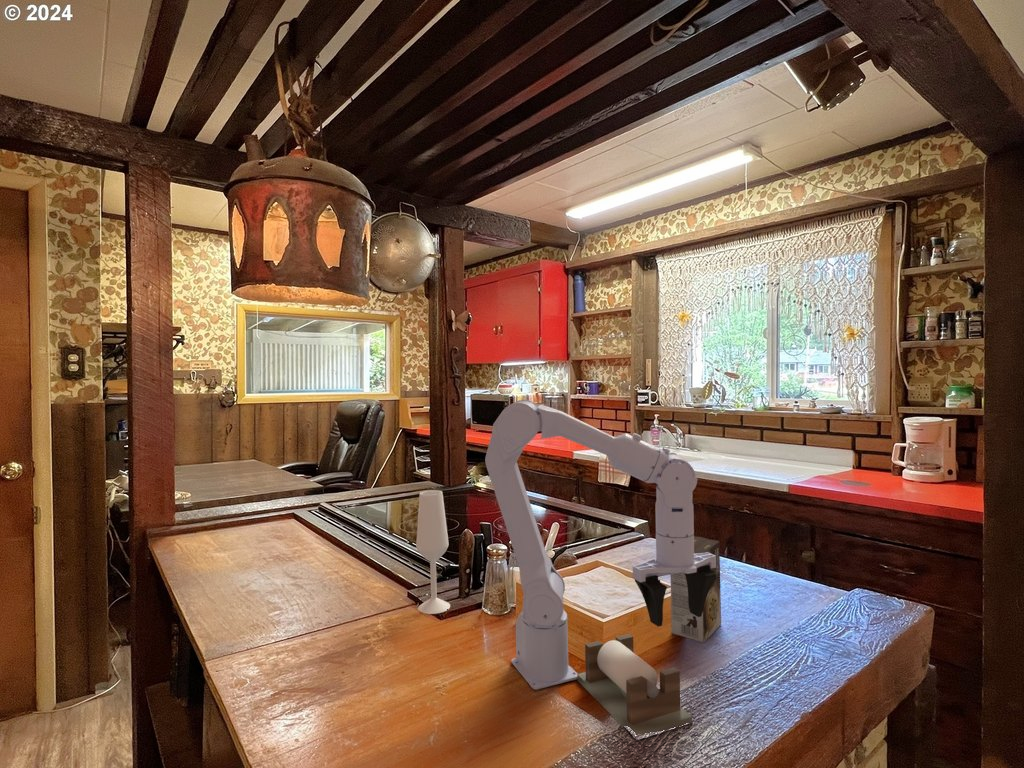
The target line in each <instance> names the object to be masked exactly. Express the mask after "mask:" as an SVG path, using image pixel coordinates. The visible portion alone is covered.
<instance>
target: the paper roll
mask: <svg viewBox="0 0 1024 768" xmlns="http://www.w3.org/2000/svg"><path fill="white" fill-rule="evenodd" d="M597 663H598V666H599V668H600V670H601V671H602V672H604V673H605V674H606V675H607V676H608V677H609V678H610V679H611V680H612V681H613V682H614V683H616V684H617V685H618V686H619V687H620V688H621V689H622V690H623V691H624V692H625V693H626V680H628V679H632V678H636V677H639V676H642V677H644V678H645V679H646V680H647V695H648V696H649V697H650V698H655V697H656V696H657V695H658V689H659V688H658V686H657V684H658V674H657V672H656V669H654V667H652V665H649V664H648V662H646V661H645V660H643V659H642V658H641V657H640V656H638V655H637V654H636V653H635V652H634V653H633V652H632V651H631V650H629V649H628V648H627V647H626V646H624V645H623V644H622V643H620V642H619V641H616V639H613V640H609V641H606V642H605V643H603V646H602V647H601V649H600V651H599V653H598V657H597Z"/></svg>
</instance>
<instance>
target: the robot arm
mask: <svg viewBox="0 0 1024 768" xmlns="http://www.w3.org/2000/svg"><path fill="white" fill-rule="evenodd" d="M538 432H541V434H540V435H541V436H540V438H541V439H543V440H544V439H549V438H550V439H551V438H555V437H562V438H564V439H567V440H569V441H572V442H574V443H576V444H579V445H581V446H584V447H585V448H588V449H590V450H594V451H596V452H598V453H600V454H603V455H605V456H606V458H607V461H608V462H609V465H610V467H612V468H614V469H616V470H618V471H619V472H623V473H625V474H627V475H629V476H632V477H633V478H636V479H638V480H640V481H642V482H645V483H647V484H656V486H655V487H656V488H655V489H656V490H655V491H656V494H655V495H656V501H655V506H654V507H655V550H656V551H655V554H656V555H655V556H656V557H654V558H652V559H651V558H650V560H646V561H644V562H642V563H639V564H636V565H632V579H633V580H634V582H635V584H636V585H637V587H638V589H639V590H640V592H641V595H642V597H643V600H644V602H645V606H646V608H647V609H646V610H647V613H648V617H649V621H650V623H651V624H653V625H654V626H656V627H662V626H663V623H664V600H665V595H666V591H667V588H668V586H667V585H665V584H663V583H661V579H659V577H660V578H661V577H663V576H664V577H665V576H670V575H671V574H676V573H681V572H684V573H685V577H686V581H687V587H688V603H689V610H690V613H692V614H694V615H696V616H697V617H701V616H702V612H703V608H704V604H705V601H706V598H707V595H708V592H709V590H710V588H711V586H712V585H713V583H714V581H715V580H716V572H714V571H712V570H710V568H716V556H715V555H713V554H710V553H708V552H706V553H696V554H694V536H695V535H694V534H695V527H694V526H695V525H694V523H695V521H694V520H695V518H694V517H695V514H694V511H695V510H694V503H693V498H694V497H693V496H694V495H693V491H694V490H695V489H696V487H697V484H698V477H696V473H695V469H694V468H693V466H692V465H691V464H690V463H689V462H688V461H687V460H685V459H684V458H683V457H682V456H680V455H678V454H677V453H676V452H671V451H670V449H669V448H667V447H665V446H664V447H662V448H659V447H658V446H656V445H653V444H651V443H648V442H647V441H644V440H643V439H642V436H641V435H640V434H638V433H635V432H633V433H632V435H631V434H629V433H621V434H619V435H617V436H616V435H615V436H613V435H611V434H609V433H607V432H605V431H603V430H600V429H598V428H596V426H595V427H594V426H592V425H590V424H588V423H586V422H584V421H582V420H580V419H578V418H576V417H574V416H573V415H570V414H568V413H566V412H564V411H562V410H559V409H555V408H553V407H550V406H547V405H544V404H539V405H538V404H537V403H535V402H534V401H533V400H529V399H520V400H517V401H515V402H513V403H511V404H509V405H507V406H506V407H505V408H504V409H503V410H502V411H501V413H500V414H499V415H498V417H497V418H496V420H495V421H494V422H493V424H492V432H491V435H490V438H489V443H488V446H487V450H486V455H485V458H484V459H485V460H484V461H485V467H486V470H487V472H488V476H489V479H490V482H491V486H492V488H493V491H494V494H495V498H496V500H497V501H496V502H497V504H498V507H499V509H500V513H501V516H502V519H503V521H504V522H503V523H504V525H505V528H506V531H507V535H508V537H509V540H510V544H511V546H512V550H513V553H514V555H515V558H516V561H517V564H518V570H519V580H520V587H521V589H522V593H523V600H522V611H521V612H520V613H519V615H518V617H517V618H516V622H515V646H516V647H515V651H516V653H515V654H516V655H515V657H514V658H512V659H510V660H511V664H512V665H513V666H514V668H515V669H516V670H517V671H518V672H519V673H520V675H521V677H523V679H524V680H525V681H526V682H527V683H528V684H529V686H530V687H531V688H532V690H536V691H537V690H541V689H544V688H549V687H552V686H556V685H561V684H564V683H567V682H570V681H575V680H577V674H578V672H576V671H575V670H574V668H573V667H572V666H570V665H569V638H568V637H569V633H568V632H569V631H568V630H569V629H568V628H569V627H568V613H567V612H566V611H565V609H564V594H565V590H566V587H565V580H564V578H563V577H562V575H561V574H560V573H559V572H558V571H557V570H556V568H555V567H554V565H553V562H552V559H551V557H550V556H549V554H548V553H547V550H546V547H545V544H544V541H543V538H542V536H541V533H540V529H539V526H538V523H537V520H536V517H535V513H534V511H533V508H532V505H531V501H530V499H529V496H528V493H527V490H526V487H525V484H524V483H525V482H524V480H523V477H522V474H521V471H520V469H519V465H518V459H519V458H520V456H521V454H522V452H523V451H524V449H525V447H526V446H527V445H528V444H529V443H530V442H531V441H532V440H533V439H534V438H535V437H537V435H538Z"/></svg>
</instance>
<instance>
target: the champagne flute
mask: <svg viewBox="0 0 1024 768" xmlns="http://www.w3.org/2000/svg"><path fill="white" fill-rule="evenodd" d="M443 493H444V492H443V491H442V490H437V489H433V490H432V489H431V490H424V491H421V492H419V496H418V511H417V512H418V513H417V526H416V527H417V529H416V540H415V541H416V544H415V545H416V546H415V547H416V551H418V553H419V554H420V555H421V556H422V557H423V558H424V559H425V560H426V561H429V565H430V566H429V567H430V568H429V569H430V570H429V571H430V597H431V598H428V599H427V600H426V601H424V602H423V603H421V604H420V605H419V606H418V607H417V610H418V611H419V612H421V613H422V614H425V615H426V614H430V615H435V614H436V615H437V614H440V613H444V612H446V611H448V610H449V609H450V608H451V604H450V603H449V602H448V601H446V600H443V599H442V598H441V599H440V598H439V597H438V596H437V595H438V594H437V593H438V592H437V591H438V589H437V561H438V560H439V559H441V557H443V555H444V554H445V553H446V551H447V549H448V547H449V535H448V525H447V518H446V510H445V503H444V501H445V500H444V494H443ZM447 609H448V610H447Z"/></svg>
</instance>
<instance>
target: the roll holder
mask: <svg viewBox="0 0 1024 768" xmlns="http://www.w3.org/2000/svg"><path fill="white" fill-rule="evenodd" d="M615 640H616V641H619V642H620V643H622V644H623V645H624V646H626V647H627V648H628V649H629V650H631V651H632V652H633V653H635V652H634V636H633V635H632V634H631V633H626V634H623V635H617V636H615ZM603 644H604V643H603V642H602V641H600V640H597V641H593V642H592V641H591V642H588V643H585V644H584V650H585V652H584V655H585V657H584V658H585V662H584V664H585V665H584V666H585V671H583V672H581V673H577V679H576V680H577V682H579V683H580V685H581V686H582V687H583V688H584V689H585V690H586V691H587V692H588V693H589V694H590V695H591V696H592V697H593V698H594V699H595V700H596V701H597V702H598V703H599V704H600V705H601V706H602V707H603V708H604V709H605V710H606V711H607V712H608V714H609V715H611V717H612V718H614V719H615V720H616V722H617V723H618V724H619V725H620V726H621V727H622V726H628V727H630V728H631V729H632V730H633V731H634V732H635V733H636V735H638V734H645V733H650V732H657V731H663V730H667V729H670V728H674V727H677V726H681V725H684V724H686V723H691V722H692V723H693V716H692V715H691V714H690V713H689V712H688V711H686V709H684V708H683V707H681V671H680V670H679V669H678V668H676V667H675V666H673V667H669V668H666V669H662V670H659V688H658V695H657V696H656V697H655V698H650V697H649V696H648V695H647V680H646V679H645V678H644V677H642V676H639V677H636V678H632V679H628V680H626V693H625V692H624V691H623V690H622V689H621V688H620V687H619V686H618V685H617V684H616V683H614V682H613V681H612V680H611V679H610V678H609V677H608V676H607V675H606V674H605V673H604V672H602V671H601V670H600V668H599V666H598V663H597V657H598V653H599V651H600V649H601V647H602V646H603Z"/></svg>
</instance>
